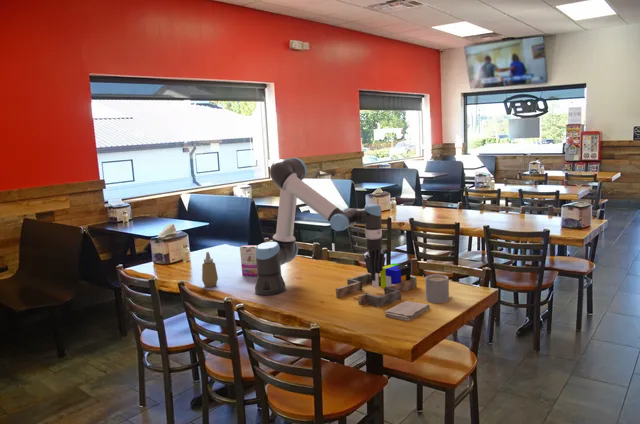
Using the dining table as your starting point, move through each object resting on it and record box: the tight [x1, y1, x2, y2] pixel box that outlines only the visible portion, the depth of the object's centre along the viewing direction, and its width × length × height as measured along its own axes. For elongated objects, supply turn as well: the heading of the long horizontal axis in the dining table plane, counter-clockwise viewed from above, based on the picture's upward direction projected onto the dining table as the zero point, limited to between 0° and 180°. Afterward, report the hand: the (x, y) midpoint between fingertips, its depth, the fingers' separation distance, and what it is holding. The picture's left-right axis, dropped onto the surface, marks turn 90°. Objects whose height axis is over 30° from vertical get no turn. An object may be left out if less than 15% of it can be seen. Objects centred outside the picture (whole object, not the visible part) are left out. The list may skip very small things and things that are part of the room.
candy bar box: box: [239, 244, 258, 277], centre depth 290 cm, size 11×5×16 cm, turn 68°
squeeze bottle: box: [201, 251, 219, 288], centre depth 273 cm, size 8×8×18 cm
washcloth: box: [384, 300, 430, 322], centre depth 220 cm, size 12×18×3 cm, turn 141°
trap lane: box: [335, 272, 418, 308], centre depth 249 cm, size 36×32×5 cm
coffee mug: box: [424, 273, 450, 304], centre depth 234 cm, size 13×10×10 cm
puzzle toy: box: [380, 262, 411, 289], centre depth 254 cm, size 10×10×10 cm
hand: (375, 286), depth 249 cm, fingers closed
